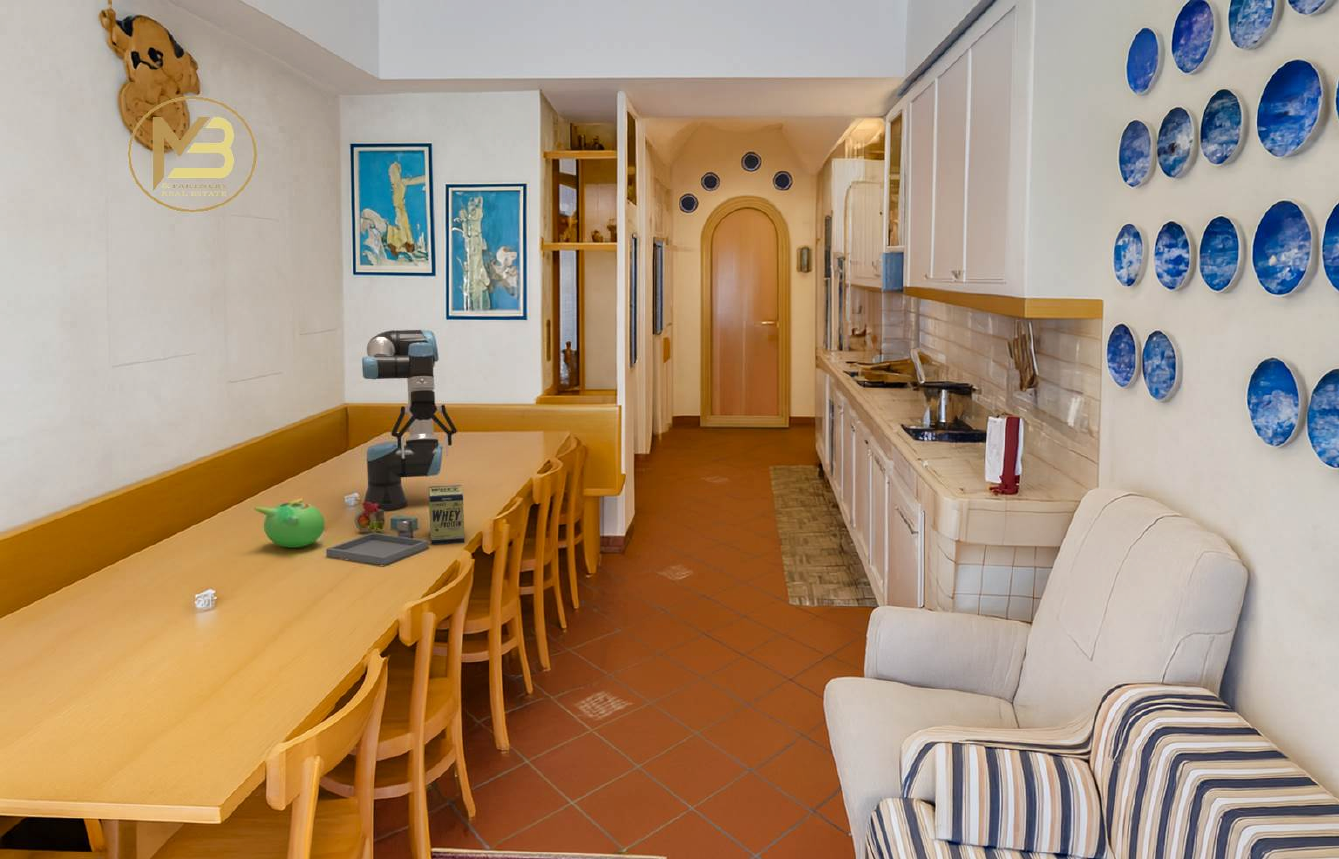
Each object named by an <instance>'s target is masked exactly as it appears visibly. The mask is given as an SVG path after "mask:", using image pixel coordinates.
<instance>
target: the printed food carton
mask: <svg viewBox="0 0 1339 859" xmlns="http://www.w3.org/2000/svg"><path fill="white" fill-rule="evenodd" d="M362 506H363V508H364V509H363V510H360V511H359V512H357V514H356V515H355V517H354V524H355V527H356V529H357V530H358V532H359V533H360V534H364V533H369V532H371V531H372V533H377V531H378V530H379V529H380V530H384V525H385V524H384V522H383V521H379V522H376V517H375V515H374V514H373V511H374V512H377V511H378V509H377V507H378V503H375V504H371V503H369V502H364V501H363V502H362ZM363 515H365V516H363ZM368 517H370V519H371V522H370V519H369V518H368ZM369 524H370V525H369ZM368 525H369V527H367V526H368Z"/></svg>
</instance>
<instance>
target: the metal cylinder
mask: <svg viewBox="0 0 1339 859" xmlns="http://www.w3.org/2000/svg"><path fill="white" fill-rule="evenodd" d="M396 531H397V532H396V536H399V537H406V538H414V539H415V537H414V531H413V519H399V520H397V530H396Z"/></svg>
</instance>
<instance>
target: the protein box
mask: <svg viewBox="0 0 1339 859" xmlns="http://www.w3.org/2000/svg"><path fill="white" fill-rule="evenodd" d="M428 506H429V508H428V509H429V510H428V511H429V513H428V514H429V527H430V528H429V529H430V531H429V532H430V545H445V544H461V543H465V519H464V518H465V517H464V516H465V515H464V494H463V489H462V485H439V486H438V485H435V486H428Z"/></svg>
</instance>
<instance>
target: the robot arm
mask: <svg viewBox="0 0 1339 859" xmlns="http://www.w3.org/2000/svg"><path fill="white" fill-rule="evenodd" d="M366 354H367V356H363V357H362V359H361V367H362V377H363V378H364V380H384V379H385V380H386V379H387V380H388V379H389V380H391V379H392V380H393V379H407V380H406V381H407V400H408V401H407V402H408V404H407V405H408V407H407V406H401V407H400V414H399V416H398V417H397V420H396V421H395V423H394V426H393V429H392V431H391V432H390V434H391V436H392V437H395V438H396V440H397V441H384V442H380V443H379V442H378V443H375V444H373V445H370V446H369V447H368V448H367V450H366V459H365V462H366V465H367V466H366V467H367V488H366V489H367V490H366V493H365V495H364V496H365V497H364V500H363V502H369V503H371V504H375V503H378V507H377V509H381V510H384V512H385V511H387V512H388V511H396V510H401V509H403V508H406V507H408V500H407V496H406V494H405V492H404V489H403V486H402V485H403V484H402V478H417V477H421V478H422V477H433V476H438V475H439V474H440V473H441V469H442V468H441V467H442V458H443V444H442V443H439V438H438V437H436V435H435V433H434V432H435V431H434V430H435V428H434V423H436V425H437V426H439V428H440V429H441V430H442V431H443V432H444V433H445V434H446V435H445V436H444V438H445V457H450V456H449V454H450V453H449V447H450V446H452V444H453V443H452V442H453V440H452V435H454V434H458V433H457V432H458V430H457V428H456V427H455V424H454V423H453V421H452V419H451V417H450V416H449V414H448V412H447V409H446V405H445V404H442V405H438V406H437V405H436V395H435V391H434V390H435V375H434V368H435V366H436V363H437V362H439V352H438V345H437V340H436V336H435V333H434V331H432V330H429V329H426V330H425V329H406V330H402V329H401V330H393V329H392V330H387V331H383V332H381V333H378V334H377V335H375V336H373V337H372V338H371V339H370V340H369V341H368V342H367V347H366ZM437 411H439V412H440V413H441V414H442V415H443V418H444V420H445V421H446V423H447V424H448V426H449V428H450V429H449V428H448V427H446V425H445V424H444V422H442V421H441V420H440V419H439V418H438V416H436V415H435V413H436V412H437ZM407 414H408V421H407V422H406V423H405V425H403V427H402V428H401V430H400V431H399V432H398V430H399V428H400V426H401V424H402V422H403V419H404V417H405V415H407ZM407 430H409V436H408V438H406V439H404V437H403V435H404V434H405V433H406V432H407Z"/></svg>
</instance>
